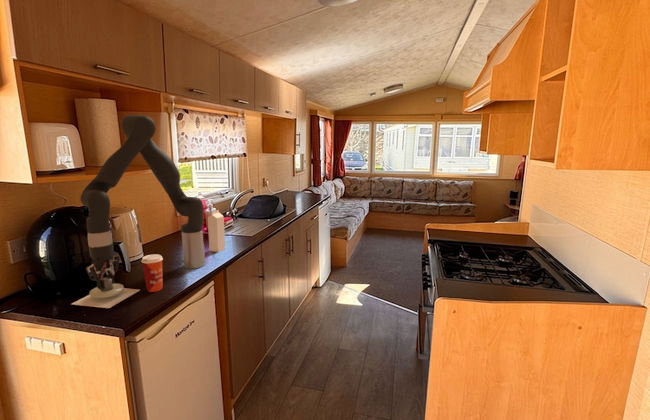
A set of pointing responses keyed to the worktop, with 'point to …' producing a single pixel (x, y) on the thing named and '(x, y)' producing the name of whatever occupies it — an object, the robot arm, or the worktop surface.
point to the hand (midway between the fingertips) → (106, 286)
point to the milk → (216, 231)
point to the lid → (107, 289)
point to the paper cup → (153, 272)
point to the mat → (106, 299)
